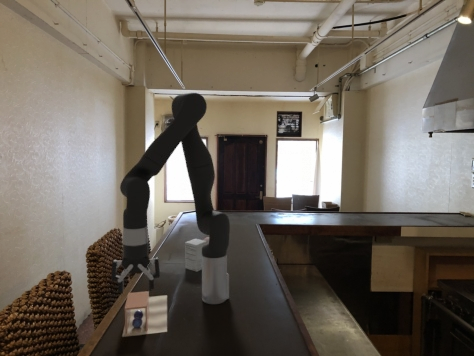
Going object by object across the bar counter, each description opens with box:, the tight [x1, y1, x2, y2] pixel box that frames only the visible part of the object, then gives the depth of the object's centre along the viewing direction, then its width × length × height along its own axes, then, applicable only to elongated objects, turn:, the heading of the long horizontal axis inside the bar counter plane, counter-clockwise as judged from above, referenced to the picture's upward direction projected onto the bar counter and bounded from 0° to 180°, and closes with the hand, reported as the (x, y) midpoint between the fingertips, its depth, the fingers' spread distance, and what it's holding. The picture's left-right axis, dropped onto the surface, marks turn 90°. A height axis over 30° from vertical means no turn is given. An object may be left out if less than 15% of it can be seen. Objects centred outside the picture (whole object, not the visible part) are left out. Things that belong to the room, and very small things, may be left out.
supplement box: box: [184, 238, 207, 272], centre depth 150 cm, size 7×7×13 cm
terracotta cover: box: [124, 290, 150, 334], centre depth 102 cm, size 10×6×8 cm, turn 12°
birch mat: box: [121, 295, 168, 338], centre depth 108 cm, size 24×13×1 cm, turn 12°
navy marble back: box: [134, 310, 143, 319], centre depth 104 cm, size 3×3×3 cm
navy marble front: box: [132, 317, 142, 328], centre depth 100 cm, size 3×3×3 cm
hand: (136, 291), depth 101 cm, fingers open, 8 cm apart
